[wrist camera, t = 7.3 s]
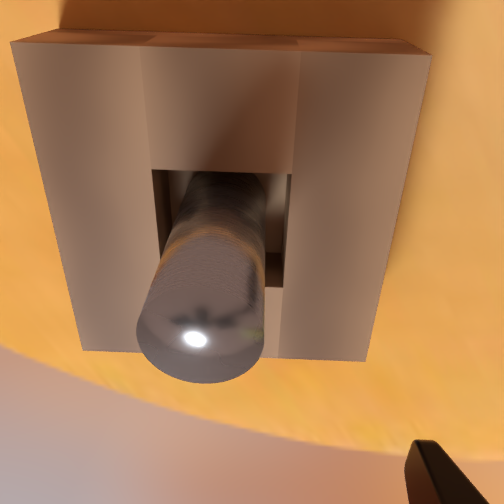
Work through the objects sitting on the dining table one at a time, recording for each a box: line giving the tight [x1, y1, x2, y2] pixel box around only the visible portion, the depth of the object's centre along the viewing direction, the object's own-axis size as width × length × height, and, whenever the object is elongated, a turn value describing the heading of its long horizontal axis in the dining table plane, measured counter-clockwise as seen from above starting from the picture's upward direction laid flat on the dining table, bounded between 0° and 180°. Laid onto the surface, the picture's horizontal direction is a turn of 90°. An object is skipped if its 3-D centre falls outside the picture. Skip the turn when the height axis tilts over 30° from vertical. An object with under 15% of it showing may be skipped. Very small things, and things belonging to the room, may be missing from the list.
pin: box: [136, 171, 266, 383], centre depth 15 cm, size 3×3×8 cm
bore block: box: [10, 29, 432, 362], centre depth 17 cm, size 12×12×4 cm
